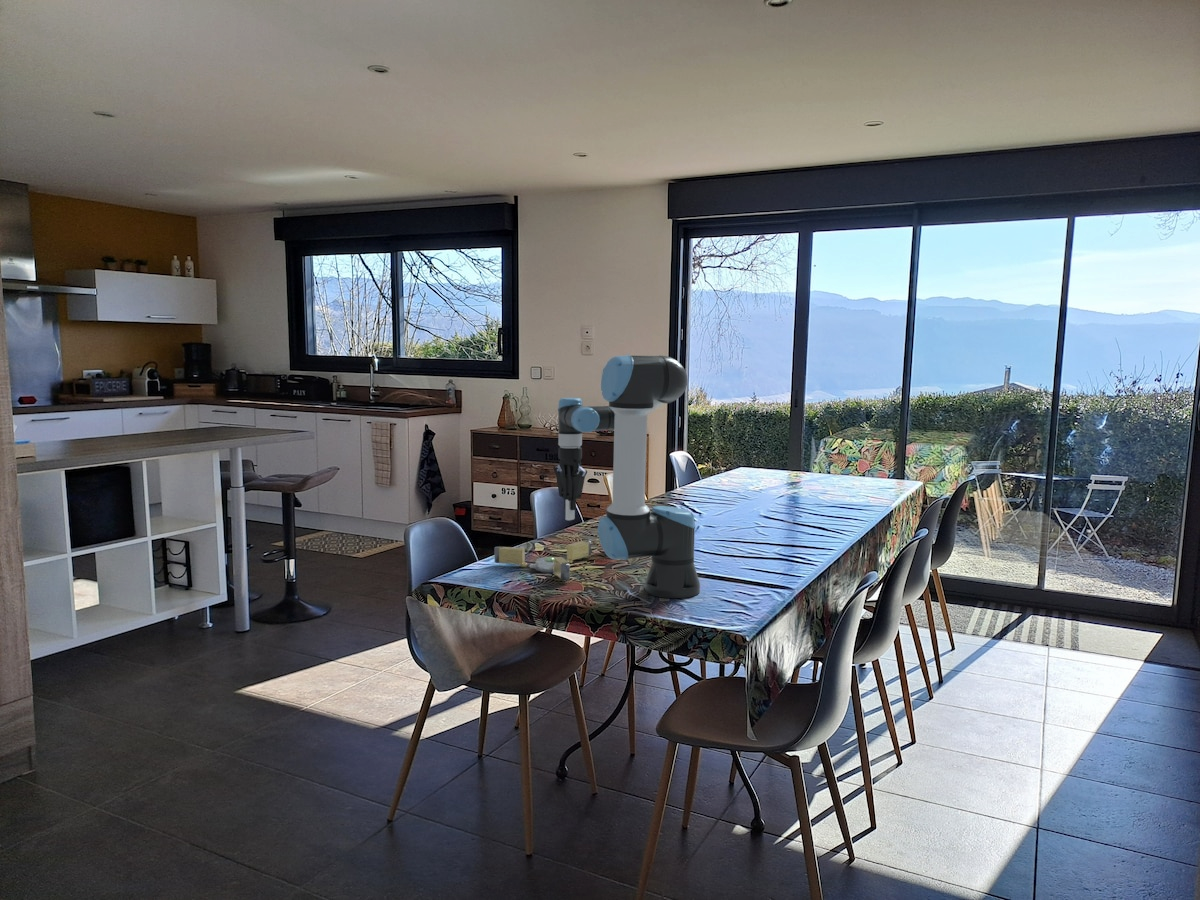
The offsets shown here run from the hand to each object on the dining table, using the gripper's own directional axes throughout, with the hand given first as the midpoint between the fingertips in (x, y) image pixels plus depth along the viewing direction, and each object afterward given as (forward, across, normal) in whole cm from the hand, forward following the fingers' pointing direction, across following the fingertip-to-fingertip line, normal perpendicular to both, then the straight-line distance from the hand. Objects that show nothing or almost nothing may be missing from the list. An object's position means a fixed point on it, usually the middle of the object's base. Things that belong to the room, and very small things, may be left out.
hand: (570, 519), depth 255 cm
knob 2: (+12, -5, +2) cm, 13 cm away
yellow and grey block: (+12, +6, +21) cm, 25 cm away
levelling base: (+12, -5, +14) cm, 20 cm away
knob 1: (+12, -16, +21) cm, 29 cm away
